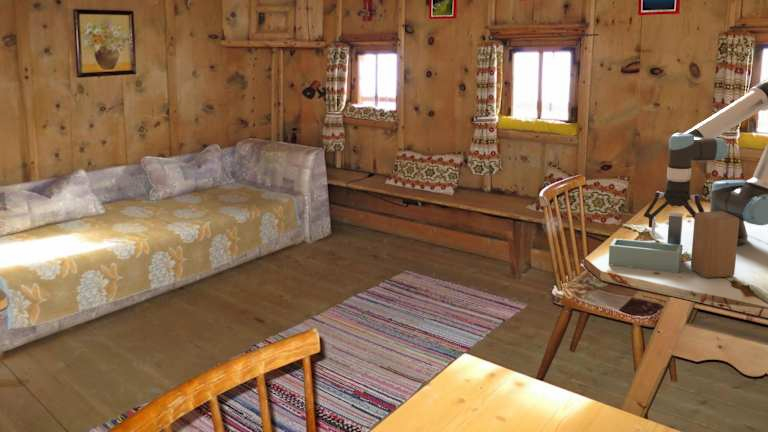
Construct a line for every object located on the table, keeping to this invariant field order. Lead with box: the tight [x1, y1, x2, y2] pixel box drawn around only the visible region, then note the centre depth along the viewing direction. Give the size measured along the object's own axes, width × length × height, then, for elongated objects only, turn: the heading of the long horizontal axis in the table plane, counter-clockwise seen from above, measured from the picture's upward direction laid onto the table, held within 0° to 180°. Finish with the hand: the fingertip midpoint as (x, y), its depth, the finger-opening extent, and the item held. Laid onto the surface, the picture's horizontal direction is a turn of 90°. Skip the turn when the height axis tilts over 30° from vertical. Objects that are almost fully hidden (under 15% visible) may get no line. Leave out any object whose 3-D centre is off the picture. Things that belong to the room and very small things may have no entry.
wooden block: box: [690, 211, 739, 279], centre depth 215 cm, size 10×10×20 cm
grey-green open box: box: [608, 238, 684, 273], centre depth 228 cm, size 22×9×7 cm, turn 61°
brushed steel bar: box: [666, 212, 684, 245], centre depth 231 cm, size 4×4×16 cm
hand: (673, 238), depth 231 cm, fingers open, 13 cm apart
